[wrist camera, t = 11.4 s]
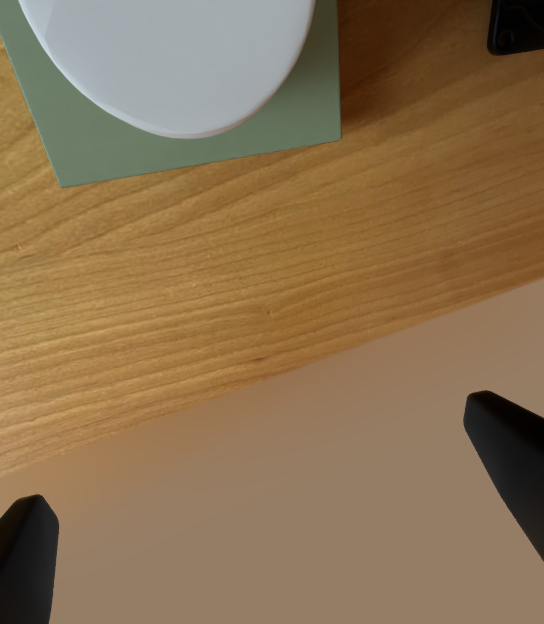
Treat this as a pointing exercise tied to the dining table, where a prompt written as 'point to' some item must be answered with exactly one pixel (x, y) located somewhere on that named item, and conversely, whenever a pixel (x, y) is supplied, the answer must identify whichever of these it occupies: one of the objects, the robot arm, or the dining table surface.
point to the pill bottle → (174, 57)
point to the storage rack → (163, 150)
